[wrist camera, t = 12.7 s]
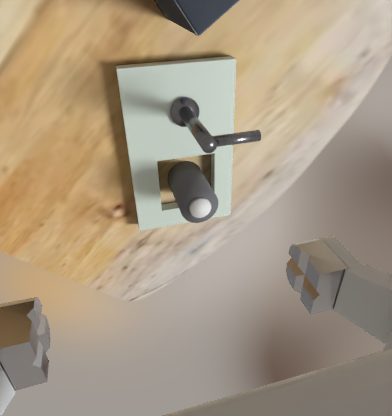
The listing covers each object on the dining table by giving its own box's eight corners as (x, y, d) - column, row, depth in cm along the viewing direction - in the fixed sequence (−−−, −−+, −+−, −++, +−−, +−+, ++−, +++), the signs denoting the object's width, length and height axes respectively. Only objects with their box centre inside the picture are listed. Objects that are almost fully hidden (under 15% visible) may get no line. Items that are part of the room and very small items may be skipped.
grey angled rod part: (171, 127, 40) (192, 164, 32) (169, 98, 38) (191, 130, 30) (227, 120, 41) (260, 154, 33) (228, 92, 39) (263, 121, 31)
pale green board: (138, 224, 47) (139, 230, 46) (115, 65, 36) (116, 68, 35) (226, 208, 50) (230, 214, 49) (231, 55, 39) (236, 58, 37)
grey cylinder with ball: (166, 163, 44) (180, 195, 38) (201, 159, 44) (220, 188, 38) (169, 194, 46) (182, 228, 40) (201, 189, 47) (219, 221, 41)
